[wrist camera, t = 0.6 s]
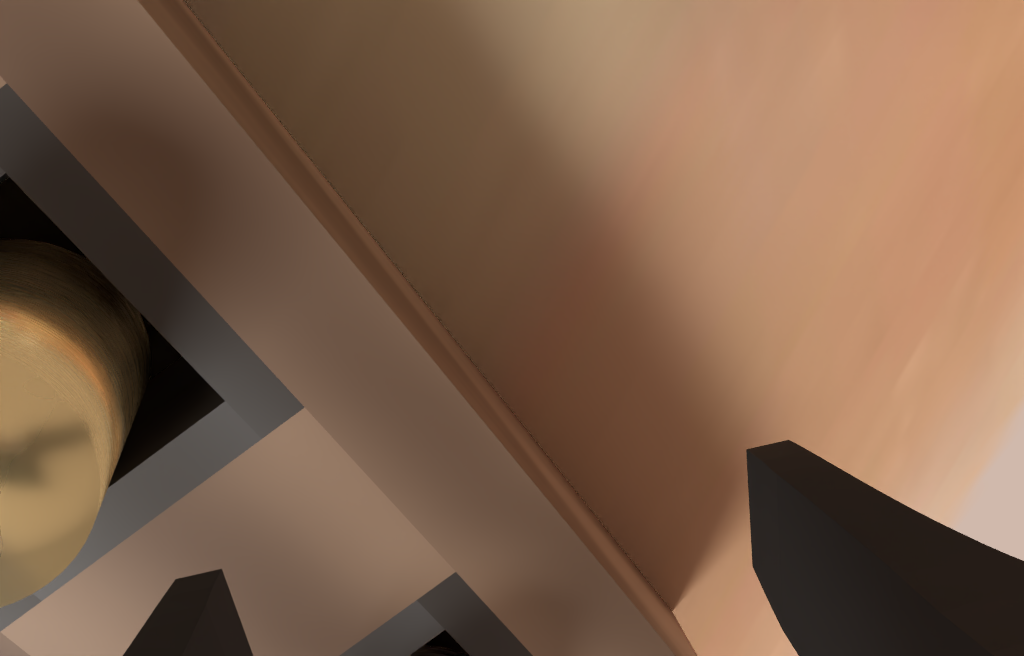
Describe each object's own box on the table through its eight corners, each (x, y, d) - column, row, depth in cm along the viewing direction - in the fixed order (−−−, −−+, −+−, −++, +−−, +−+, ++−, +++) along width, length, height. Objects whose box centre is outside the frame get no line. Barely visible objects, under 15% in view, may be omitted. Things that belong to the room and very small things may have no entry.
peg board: (338, 850, 28) (344, 1022, 23) (-347, 285, 19) (-550, 383, 15) (673, 613, 27) (746, 741, 23) (121, -77, 19) (61, -94, 14)
